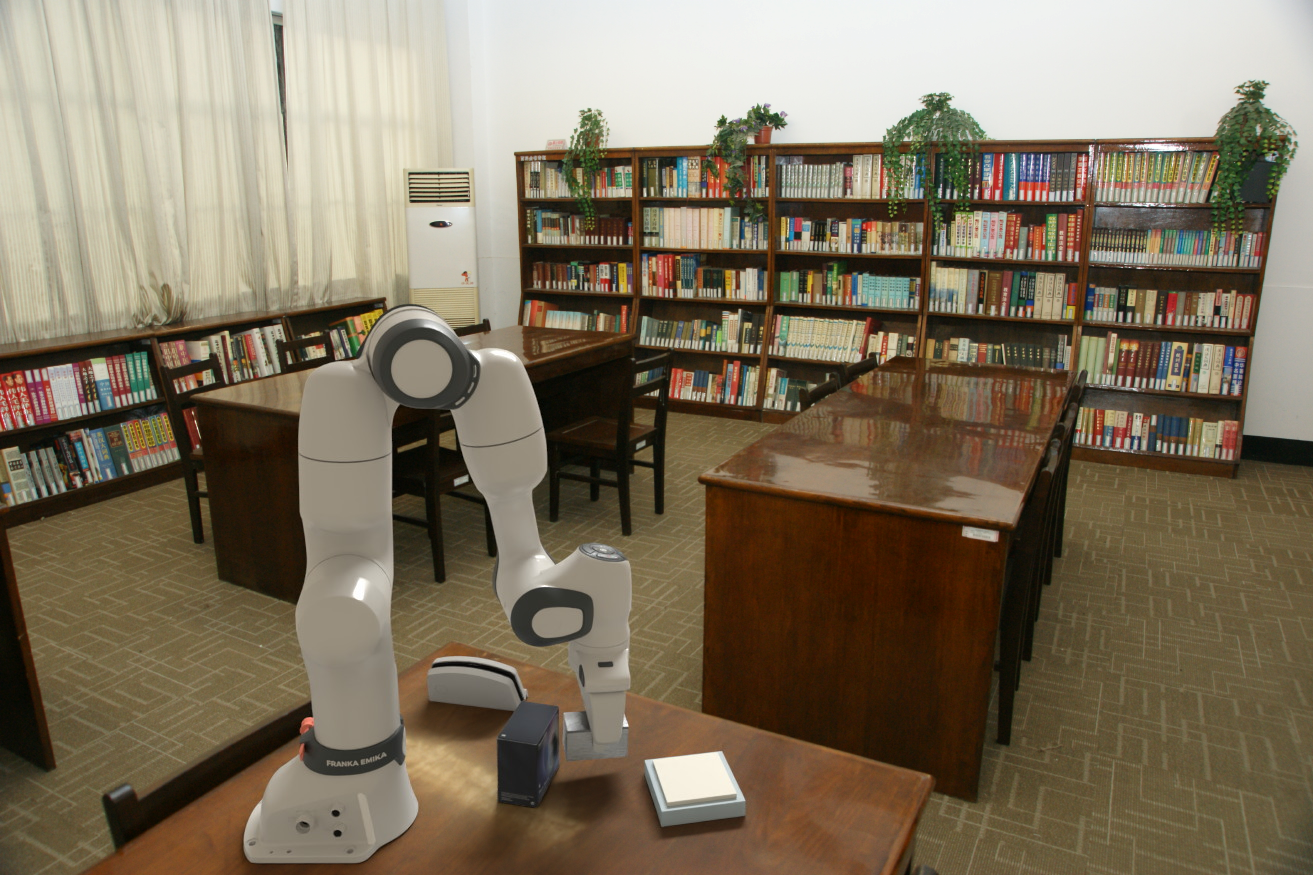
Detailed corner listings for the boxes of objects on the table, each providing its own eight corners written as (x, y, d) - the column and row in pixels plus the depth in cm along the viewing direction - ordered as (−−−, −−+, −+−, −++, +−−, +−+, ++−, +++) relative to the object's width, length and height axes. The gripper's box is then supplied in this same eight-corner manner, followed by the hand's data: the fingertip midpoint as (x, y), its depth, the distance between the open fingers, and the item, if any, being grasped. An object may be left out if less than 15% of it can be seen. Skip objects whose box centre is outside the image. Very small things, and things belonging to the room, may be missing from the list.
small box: (539, 809, 128) (538, 744, 125) (496, 803, 129) (493, 738, 126) (562, 765, 138) (561, 704, 135) (521, 759, 139) (519, 698, 136)
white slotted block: (530, 696, 156) (522, 656, 151) (522, 718, 153) (513, 678, 147) (440, 685, 160) (429, 645, 154) (429, 706, 156) (418, 667, 150)
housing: (566, 761, 132) (567, 731, 131) (562, 741, 137) (563, 712, 135) (627, 756, 134) (628, 726, 133) (621, 737, 139) (622, 708, 137)
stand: (661, 826, 124) (661, 807, 124) (644, 773, 136) (644, 756, 135) (745, 815, 127) (745, 796, 126) (721, 764, 138) (722, 747, 137)
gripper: (568, 621, 140) (565, 700, 144) (587, 688, 121) (583, 778, 124) (608, 619, 142) (604, 698, 145) (633, 685, 123) (628, 774, 126)
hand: (595, 736), depth 135 cm, fingers closed on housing, 5 cm apart
